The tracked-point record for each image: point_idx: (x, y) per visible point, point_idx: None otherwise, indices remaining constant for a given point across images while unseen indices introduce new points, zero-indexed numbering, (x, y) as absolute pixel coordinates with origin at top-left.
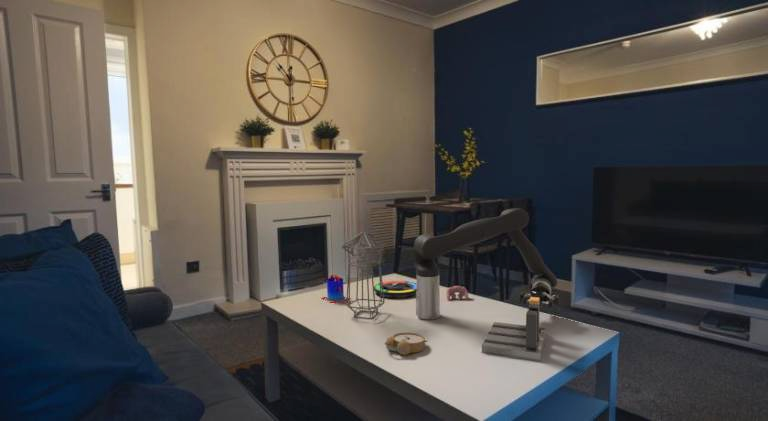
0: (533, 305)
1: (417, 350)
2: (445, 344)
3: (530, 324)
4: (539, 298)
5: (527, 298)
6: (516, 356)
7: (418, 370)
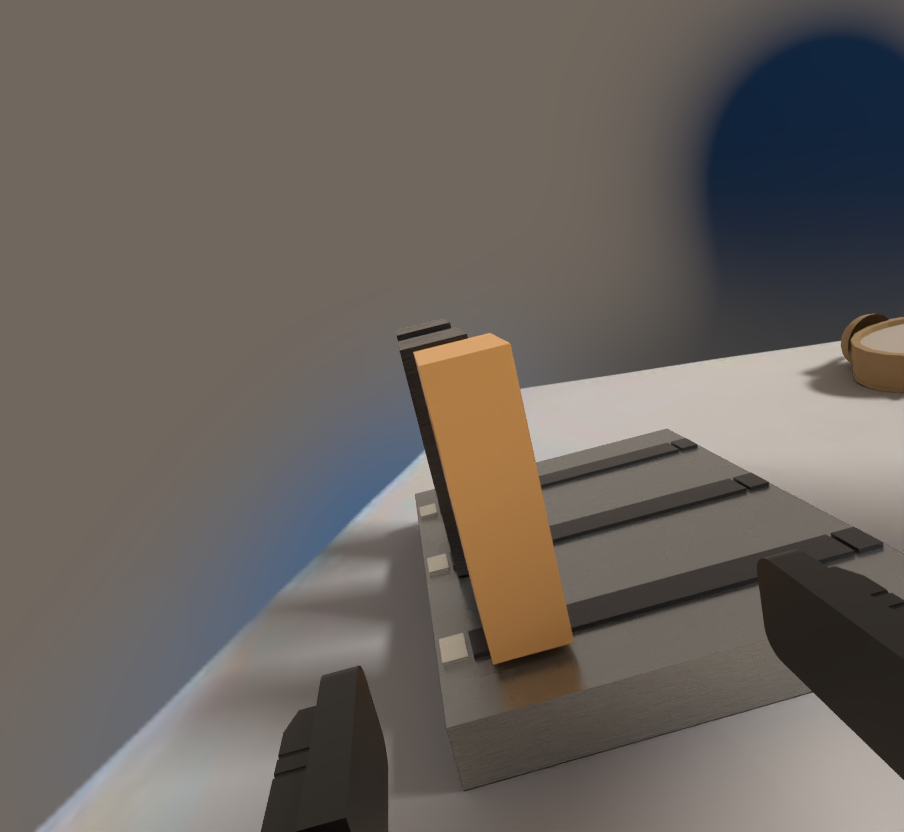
0: (435, 337)
1: (854, 370)
2: (867, 425)
3: None
4: (420, 373)
5: (901, 695)
6: None
7: (729, 372)
